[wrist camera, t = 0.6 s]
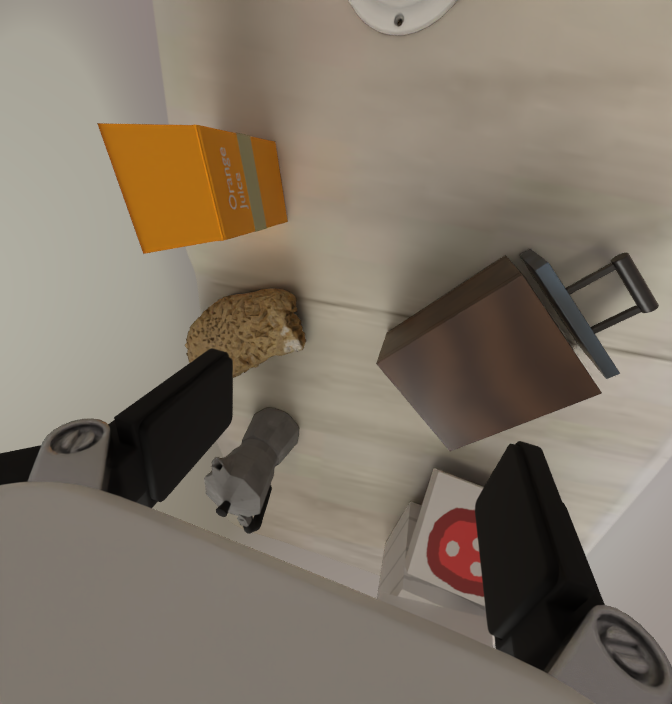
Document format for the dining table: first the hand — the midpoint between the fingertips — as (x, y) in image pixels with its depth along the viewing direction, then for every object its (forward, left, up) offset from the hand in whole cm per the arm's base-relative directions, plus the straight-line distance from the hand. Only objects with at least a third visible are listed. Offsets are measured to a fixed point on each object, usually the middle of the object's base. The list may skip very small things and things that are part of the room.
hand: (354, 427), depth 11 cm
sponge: (+15, -23, -33) cm, 43 cm away
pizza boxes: (+47, +13, -33) cm, 59 cm away
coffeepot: (+35, -19, -33) cm, 52 cm away
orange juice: (-5, -21, -33) cm, 39 cm away
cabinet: (+11, +9, -33) cm, 36 cm away
